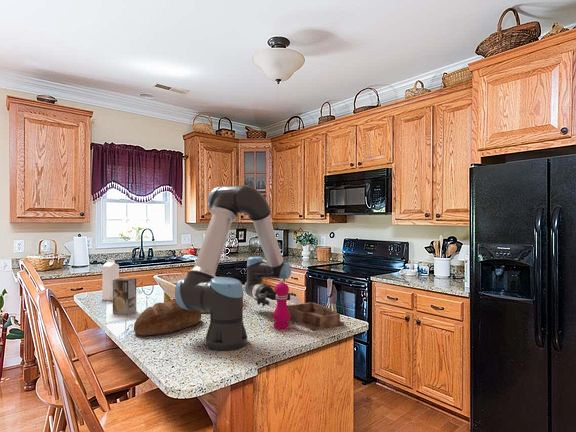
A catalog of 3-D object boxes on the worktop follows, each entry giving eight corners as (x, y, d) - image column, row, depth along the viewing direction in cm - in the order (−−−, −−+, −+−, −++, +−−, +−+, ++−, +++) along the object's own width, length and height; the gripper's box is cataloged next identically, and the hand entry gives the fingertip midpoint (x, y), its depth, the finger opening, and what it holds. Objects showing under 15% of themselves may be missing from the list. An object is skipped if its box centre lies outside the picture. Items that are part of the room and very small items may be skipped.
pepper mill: (288, 330, 149) (288, 281, 149) (271, 329, 151) (271, 280, 151) (291, 325, 156) (291, 278, 156) (275, 324, 158) (275, 277, 158)
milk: (111, 297, 209) (111, 258, 209) (118, 298, 206) (119, 259, 207) (101, 299, 203) (102, 259, 204) (109, 300, 201) (110, 260, 201)
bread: (209, 323, 159) (209, 297, 159) (147, 341, 136) (147, 310, 136) (187, 317, 169) (187, 292, 169) (125, 332, 146) (126, 304, 146)
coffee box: (137, 311, 178) (137, 278, 178) (128, 314, 172) (128, 280, 172) (120, 310, 180) (121, 277, 181) (111, 313, 174) (111, 279, 174)
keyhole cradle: (312, 330, 149) (312, 318, 149) (284, 316, 170) (284, 305, 170) (344, 325, 157) (344, 313, 157) (313, 312, 178) (313, 302, 178)
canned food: (180, 306, 190) (180, 282, 190) (164, 307, 187) (164, 283, 187) (178, 302, 197) (178, 280, 197) (163, 303, 194) (163, 281, 194)
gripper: (285, 298, 175) (310, 308, 156) (239, 304, 163) (260, 315, 144) (285, 282, 175) (310, 290, 156) (239, 287, 163) (260, 296, 144)
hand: (286, 302), depth 150 cm, fingers open, 11 cm apart
